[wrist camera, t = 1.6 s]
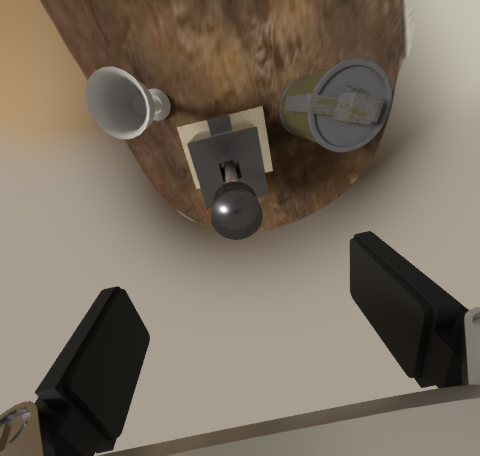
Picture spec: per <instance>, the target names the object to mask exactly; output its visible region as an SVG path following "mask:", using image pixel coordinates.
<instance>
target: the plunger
mask: <svg viewBox="0 0 480 456" xmlns="http://www.w3.org/2000/svg"><path fill="white" fill-rule="evenodd" d="M219 165H220V169H221V173H222V177H223V180H224V179H226V183H225V184H223V185H222V186H221V187H219V188H218V189H217V191H216V192H215V194H214V196H213V201H212V213H211V220H212V224H213V226H214V228H215V229H216V231H217V232H218V233H219V234H220V235H222V236H224V237H226V238H229V239H234V240H239V239H244V238H247V237H249V236H251V235H252V234H254V233H255V232H256V231H257V230H258V228H259V227H260V225H261V222H262V215H263V214H262V209H261V206H260V204H259V201H258V199H257V196H256V194H255V192H254V190H253V189H252V188H251V187H250V186H249V185H247V184H245V183H243V182H238V178H237V176H241V172H240V167H239V163H238V159H234V160H230V161H226V162H222V163H219Z"/></svg>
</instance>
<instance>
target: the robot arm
mask: <svg viewBox="0 0 480 456" xmlns="http://www.w3.org/2000/svg"><path fill="white" fill-rule="evenodd" d="M350 293H351V295H352V298H353V299H354V301H355V302H356V304H357V305H358V307H359V308H360V309H361V311H362V312H363V313H364V315H365V316H366V318H367V319H368V321H369V322H370V324H371V325H372V326H373V328H374V329H375V331H376V332H377V334H378V335H379V336H380V338H381V339H382V341H383V342H384V343H385V345H386V346H387V348H388V349H389V351H390V352H391V353H392V355H393V356H394V357H395V359H396V361H397V362H398V363H399V365H400V366H401V368H402V369H403V370H404V372H405V373H406V375H407V376H408V377H410V378H415V380H416V381H417V382H418V384H419V385H420V387H421V388H424V387H429V386H434V385H436V386H437V387H438V388H439V389H434V390H427V391H422V392H416V393H410V394H404V395H399V396H394V397H388V398H382V399H377V400H371V401H367V402H361V403H356V404H351V405H346V406H341V407H335V408H330V409H325V410H320V411H315V412H310V413H305V414H300V415H294V416H289V417H284V418H279V419H275V420H269V421H265V422H260V423H255V424H249V425H245V426H239V427H235V428H230V429H225V430H220V431H215V432H210V433H205V434H200V435H195V436H190V437H185V438H181V439H176V440H171V441H166V442H161V443H156V444H152V445H147V446H142V447H137V448H132V449H127V450H123V451H118V452H113V453H108V454H104V455H99V456H480V307H477V308H474V309H470V310H468V309H467V308H465V307H464V306H463V305H462V304H461V303H459V302H458V301H457V300H456V299H454V298H453V297H452V296H451V295H450V294H448V293H447V292H446V291H445V290H443V289H442V288H441V287H440V286H438V285H437V284H436V283H435V282H433V281H432V280H431V279H430V278H428V277H427V276H426V275H425V274H423V273H422V272H421V271H420V270H418V269H417V268H416V267H415V266H413V265H412V264H411V263H410V262H409V261H407V260H406V259H405V258H404V257H402V256H401V255H400V254H398V253H397V252H396V251H395V250H394V249H392V248H391V247H390V246H389V245H387V244H386V243H385V242H384V241H382V240H381V239H380V238H379V237H377V236H376V235H375V234H374V233H372V232H371V231H368V232H364V233H359V234H355V235H354V238H353V239H351V240H350ZM149 341H150V336H149V333H148V331H147V329H146V327H145V325H144V323H143V322H142V320H141V318H140V316H139V314H138V313H137V311H136V309H135V307H134V305H133V304H132V302H131V300H130V298H129V296H128V294H127V293H126V291H125V290H124V289H121V288H120V287H113V288H108V289H104V290H102V291H101V292H100V294H99V295H98V297H97V299H96V300H95V301H94V303H93V304H92V306H91V308H90V309H89V311H88V312H87V314H86V315H85V317H84V318H83V320H82V321H81V323H80V324H79V326H78V327H77V329H76V331H75V332H74V333H73V335H72V337H71V338H70V340H69V341H68V343H67V344H66V346H65V347H64V349H63V350H62V352H61V353H60V355H59V356H58V358H57V359H56V361H55V362H54V364H53V365H52V367H51V368H50V370H49V372H48V373H47V375H46V376H45V378H44V379H43V381H42V382H41V384H40V385H39V387H38V388H37V390H36V391H35V393H36V394H37V395H38V396H39V397H38V399H37V400H36V402H35V403H33V402H31V401H29V402H22V403H20V404H18V405H15V406H13V407H12V408H10V409H9V410H7V411H5V412H4V413H3V414H1V415H0V456H94V454H95V452H96V453H101V452H106V451H111V450H113V448H114V445H115V442H116V439H117V437H119V436H120V435H121V433H122V430H123V427H124V424H125V421H126V417H127V414H128V411H129V407H130V404H131V401H132V397H133V394H134V391H135V387H136V384H137V381H138V377H139V374H140V371H141V368H142V365H143V361H144V358H145V355H146V351H147V348H148V345H149Z"/></svg>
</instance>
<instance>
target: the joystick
mask: <svg viewBox="0 0 480 456" xmlns="http://www.w3.org/2000/svg"><path fill="white" fill-rule="evenodd" d="M177 129H178V132H179V135H180V139H181V142H182V145H183V148H184V151H185V154H186V157H187V160H188V164H189V167H190V170H191V173H192V176H193V179H194V182H195V186H196V189H199V188H201V191H202V194H203V197H204V201H205V204H206V207H207V209H208V208H212V201H213V196H214V194H215V192H216V191H217V189H218V188H219V187H221V186H222V185H223V184H225V183H226V179H224V180H223V177H222V173H221V169H220V165H219V163H222V162H226V161H230V160H234V159H238V163H239V167H240V172H241V176H237V178H238V182H243V183H245V184H247V185H249V186H250V187H251V188H252V189H253V190H254V192H255V194H256V196H257V197H259V196H263V195H268V194H269V192H268V186H267V180H266V175H265V173H266V172H270V171H273V169H272V162H271V156H270V150H269V143H268V137H267V131H266V125H265V118H264V112H263V106H260V107H256V108H252V109H248V110H244V111H240V112H236V113H232V114H228V113H223V114H219V115H215V116H211V117H209V118H208V119H207V120H204V121H200V122H196V123H192V124H188V125H184V126H180V127H177Z"/></svg>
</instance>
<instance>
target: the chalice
mask: <svg viewBox="0 0 480 456" xmlns="http://www.w3.org/2000/svg"><path fill="white" fill-rule="evenodd" d="M85 91H86V92H85V93H86V103H87V106H88V109H89V112H90V114H91V115H92V117H93V119H94V120H95V122H96V123H97V124H98V125H99V126H100V127H101V128H102V129H103V130H104V131H105V132H107V133H108V134H110V135H112V136H114V137H117V138H121V139H132V138H134V137H136V136H138V135H140V134H141V133H142V132H143V131H144V130H145V128H147V127H148V126H149V125H150V124H151V123H152V122H153V120H163V119H165V118H166V117H167V116H168V115H169V113H170V108H171V106H170V101H169V99H168V97H167V96H166V94H165V93H164V92H162V91H161V90H158V89H150V90H148V89H147V88H146V87H145V85H143V84H142V83H141V82H139V81H138V80H136V79H135V78H134V77H132V76H131V75H130V74H128V73H127V72H126V71H124V70H121V69H118V68H115V67H102V68H101V69H99V70H97V71H95V72H94V73H93V74H92V75H91V77H90V78H89V79H88V82H87V86H86V90H85Z"/></svg>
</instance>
